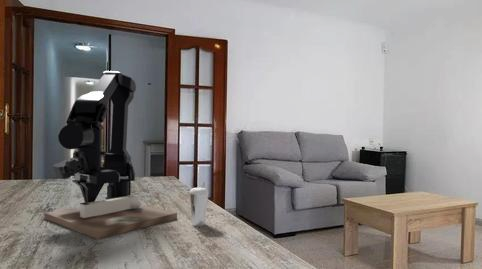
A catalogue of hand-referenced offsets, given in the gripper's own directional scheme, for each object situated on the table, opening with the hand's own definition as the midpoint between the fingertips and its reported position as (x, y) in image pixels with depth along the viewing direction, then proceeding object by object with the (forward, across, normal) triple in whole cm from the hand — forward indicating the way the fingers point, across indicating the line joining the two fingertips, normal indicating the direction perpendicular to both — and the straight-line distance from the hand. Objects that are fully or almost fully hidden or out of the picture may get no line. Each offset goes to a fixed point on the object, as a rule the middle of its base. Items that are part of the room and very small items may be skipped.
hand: (89, 207), depth 89 cm
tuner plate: (+3, +6, +3) cm, 7 cm away
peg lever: (+1, +6, +3) cm, 7 cm away
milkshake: (+3, +26, +14) cm, 30 cm away
